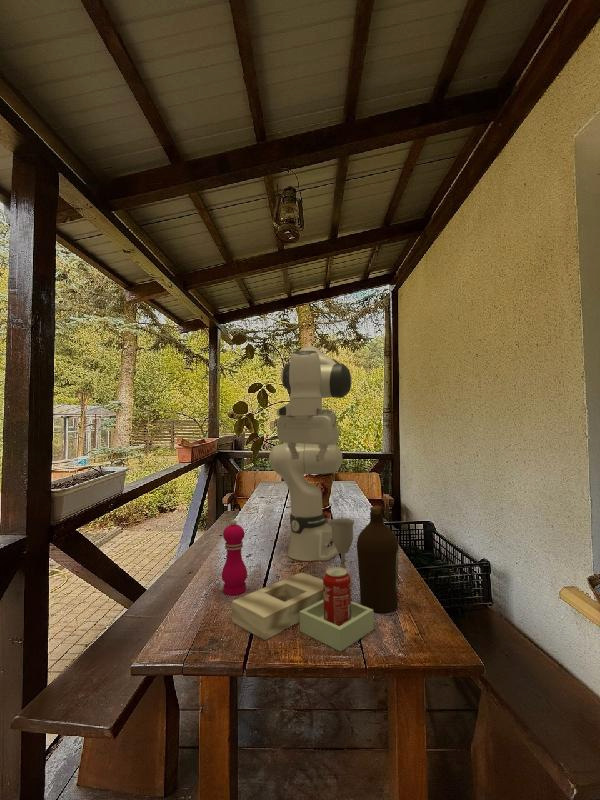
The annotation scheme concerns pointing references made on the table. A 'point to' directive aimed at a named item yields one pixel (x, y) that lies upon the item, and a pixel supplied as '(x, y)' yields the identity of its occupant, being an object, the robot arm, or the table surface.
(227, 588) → the pepper mill
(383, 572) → the olive oil
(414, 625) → the table surface
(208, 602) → the table surface
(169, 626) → the table surface
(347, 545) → the chalice
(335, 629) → the shallow square tray
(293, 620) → the socket beam
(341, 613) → the beverage can
